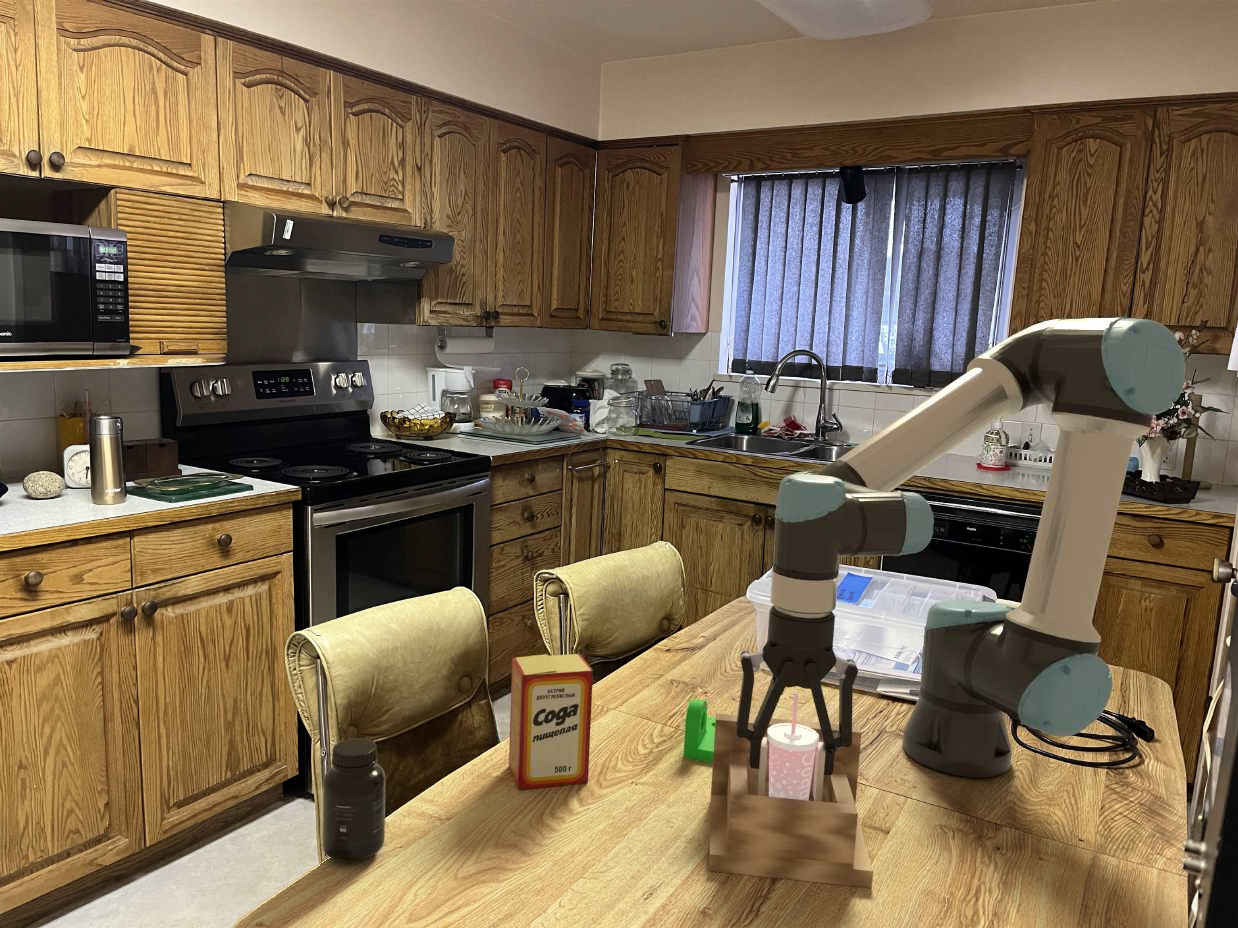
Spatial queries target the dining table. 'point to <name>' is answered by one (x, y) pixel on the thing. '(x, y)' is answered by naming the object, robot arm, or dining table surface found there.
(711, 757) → the mechanical part
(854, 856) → the wooden caddy with backboard
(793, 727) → the beverage cup
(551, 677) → the baking soda box
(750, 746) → the robot arm
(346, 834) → the supplement bottle
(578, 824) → the dining table surface
